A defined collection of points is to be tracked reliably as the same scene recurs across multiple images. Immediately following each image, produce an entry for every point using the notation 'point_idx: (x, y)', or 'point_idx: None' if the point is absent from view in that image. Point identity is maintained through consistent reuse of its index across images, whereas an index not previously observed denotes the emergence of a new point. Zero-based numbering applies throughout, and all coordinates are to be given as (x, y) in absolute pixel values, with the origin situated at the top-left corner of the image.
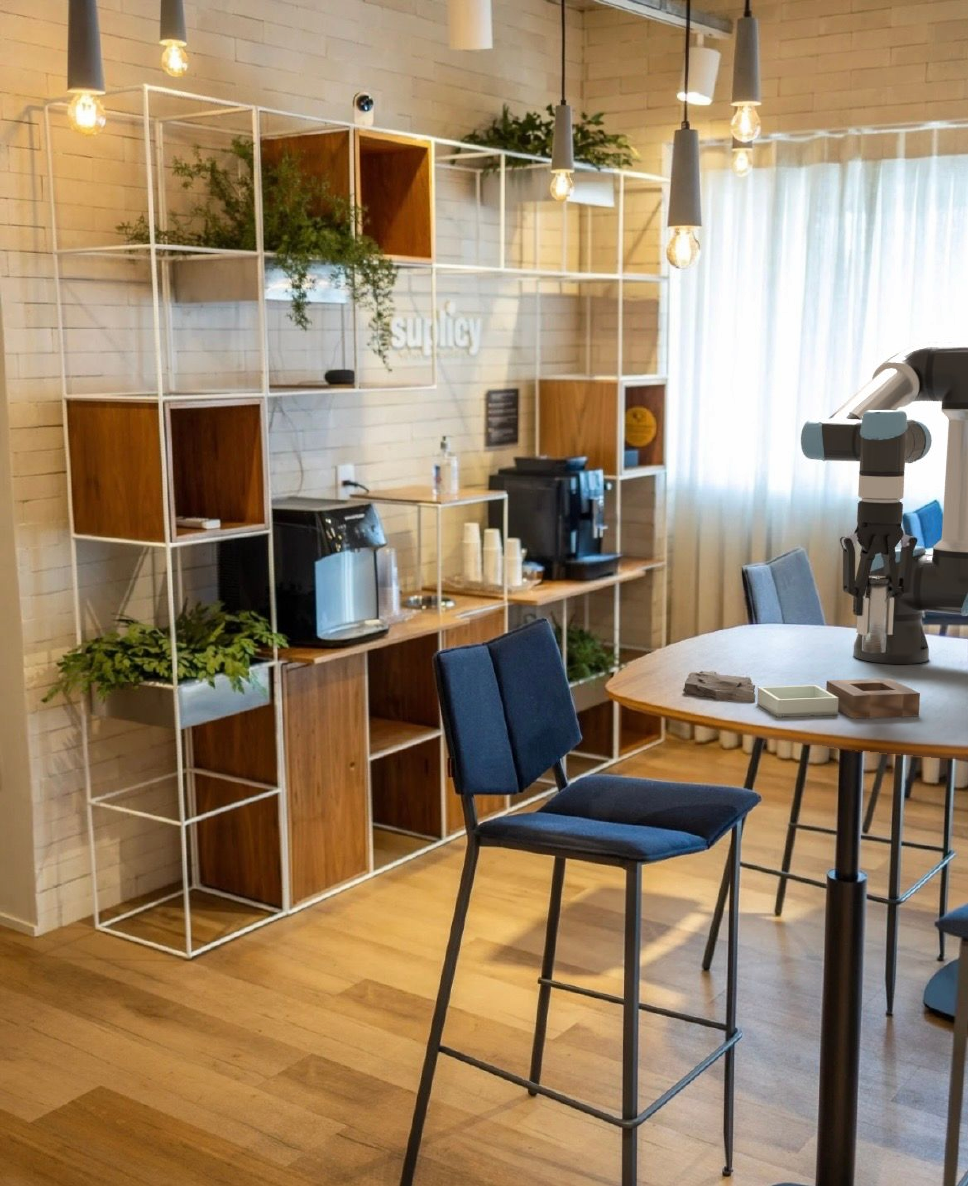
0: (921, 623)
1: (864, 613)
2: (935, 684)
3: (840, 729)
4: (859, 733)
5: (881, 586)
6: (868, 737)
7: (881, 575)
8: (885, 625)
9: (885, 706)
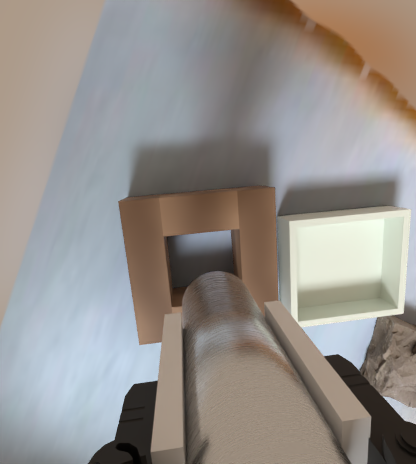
0: None
1: (316, 351)
2: (14, 435)
3: (312, 106)
4: (289, 71)
5: None
6: (284, 37)
7: None
8: (198, 324)
9: (199, 192)
